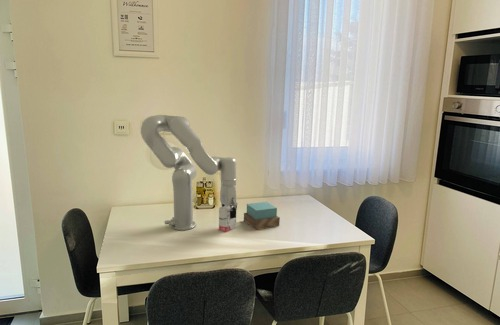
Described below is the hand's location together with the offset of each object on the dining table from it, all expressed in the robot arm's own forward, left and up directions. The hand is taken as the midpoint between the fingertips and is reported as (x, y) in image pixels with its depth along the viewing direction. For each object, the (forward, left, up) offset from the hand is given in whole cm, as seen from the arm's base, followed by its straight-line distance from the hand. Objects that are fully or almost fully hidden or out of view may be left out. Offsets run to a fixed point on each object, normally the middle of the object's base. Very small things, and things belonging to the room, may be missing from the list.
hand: (228, 215), depth 188 cm
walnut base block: (+19, 0, -8) cm, 21 cm away
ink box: (-1, 0, -8) cm, 8 cm away
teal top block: (+20, +1, -3) cm, 20 cm away
